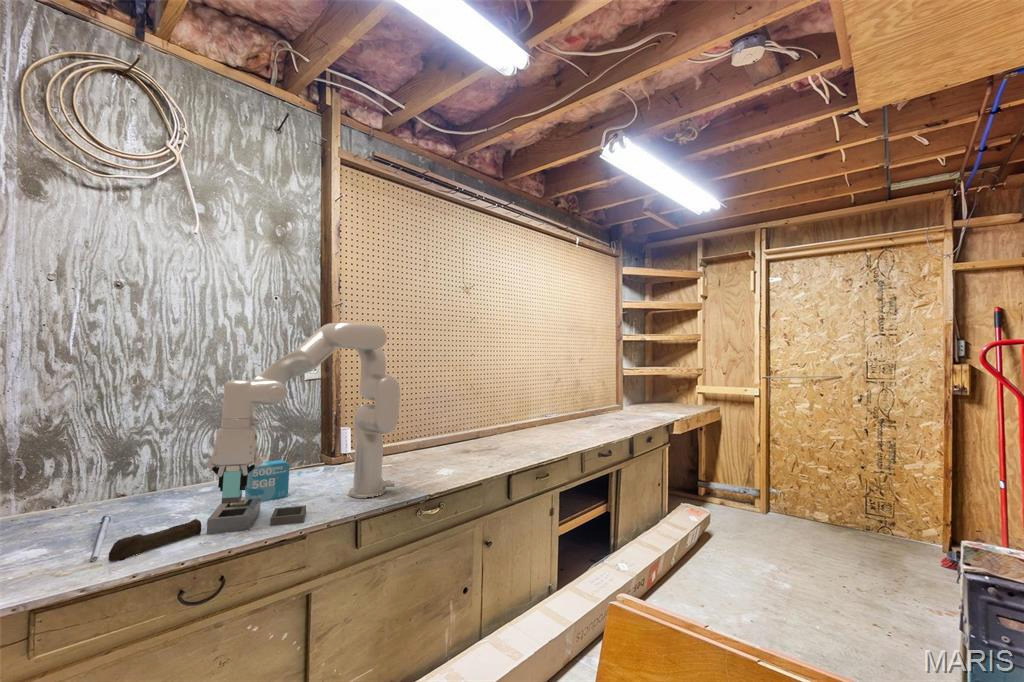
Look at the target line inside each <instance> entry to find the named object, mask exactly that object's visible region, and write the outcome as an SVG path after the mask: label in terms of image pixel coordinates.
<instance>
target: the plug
mask: <svg viewBox="0 0 1024 682" xmlns="http://www.w3.org/2000/svg"><path fill="white" fill-rule="evenodd" d="M242 473H243V472H242V465H228V466H227V470H226V471H225V472H224V477H223V490H222V491H221V492H222V493H221V503H222V504H224V503H238V502H239V501H240V500H241V498H242V497H243V491H242V490H240V480H241V476H242Z"/></svg>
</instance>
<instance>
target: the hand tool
mask: <svg viewBox="0 0 1024 682" xmlns="http://www.w3.org/2000/svg"><path fill="white" fill-rule="evenodd" d="M201 533H202V522H201V521H200V520H199V519H197V518H195V519H192V520H191V521H188V522H186V523H181V524H179V525H174V526H171V527H169V528H166V529H163V530H159V531H156V532H153V533H149V534H141V533H140V534H139V533H138V534H134V535H131V536H126V537H124V538H123V537H122V538H121V539H117V540H116V542H114V544H113V545H112V547H111V549H110V551H109V553H108V559H107V560H108V561H109V562H114V561H119V560H124V559H128V558H131V557H134V556H133V555H135V556H137V555H136V554H138V555H140V554H141V553H142V552H144V551H147V550H149V549H151V548H155V547H158V546H162V545H164V544H168V543H170V542H175V541H177V540H180V539H184V538H187V537H190V536H192V535H197V534H198V536H199V535H200V534H201ZM139 553H140V554H139ZM130 556H131V557H130ZM127 557H128V558H127ZM123 558H124V559H123Z"/></svg>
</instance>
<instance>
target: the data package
mask: <svg viewBox="0 0 1024 682" xmlns="http://www.w3.org/2000/svg"><path fill="white" fill-rule="evenodd" d="M251 465H252V464H250V465H249V467H250V466H251ZM289 479H290V463H288V462H287V461H285V460H283V459H278V460H273V461H272V460H271V461H263V463H262V464H261V465H259V466H258V467H256V468H254V469H253V470H252V471H251V472H250V473H249V474H248V481H247V486H246V487H245V490H244V497H246V499H251V498H261V503H262V502H267V501H272V500H279V499H284V498H285V497H287V496H288V494H289V485H290V484H289V482H290V481H289Z"/></svg>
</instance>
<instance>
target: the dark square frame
mask: <svg viewBox="0 0 1024 682" xmlns="http://www.w3.org/2000/svg"><path fill="white" fill-rule="evenodd" d="M306 514H307V505H299V506H286V507H275V508H274V510H273V511H272V514H271V517H270V522H269V523H270V527H273V526H282V525H283V526H284V524H285V525H293V524H294V523H295V524H303V523H304V522H305V518H306Z"/></svg>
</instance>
